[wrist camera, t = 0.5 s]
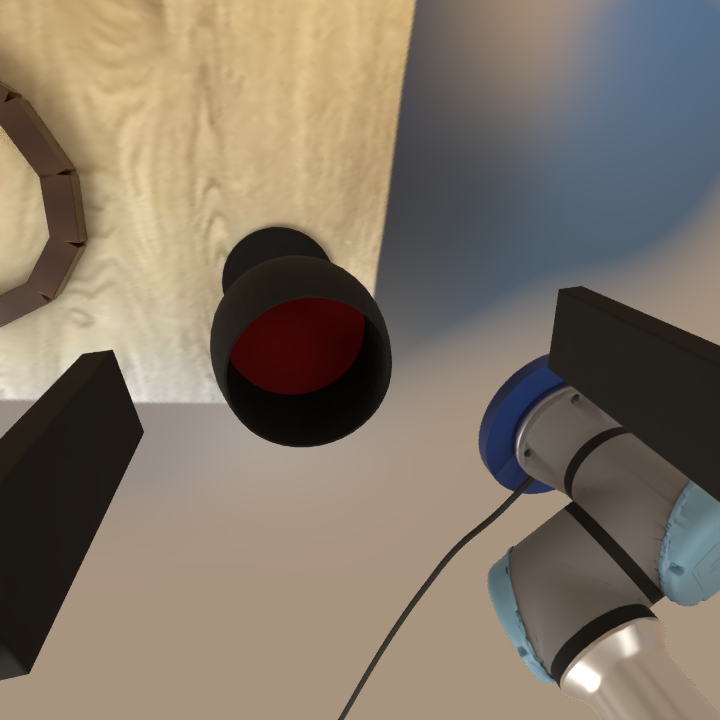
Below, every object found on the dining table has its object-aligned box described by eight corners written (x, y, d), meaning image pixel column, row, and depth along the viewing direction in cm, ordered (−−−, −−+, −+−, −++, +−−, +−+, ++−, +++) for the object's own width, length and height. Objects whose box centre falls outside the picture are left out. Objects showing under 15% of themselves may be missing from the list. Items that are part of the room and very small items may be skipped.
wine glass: (295, 203, 37) (346, 232, 19) (354, 298, 42) (437, 392, 24) (196, 268, 37) (155, 357, 19) (266, 355, 42) (284, 491, 24)
